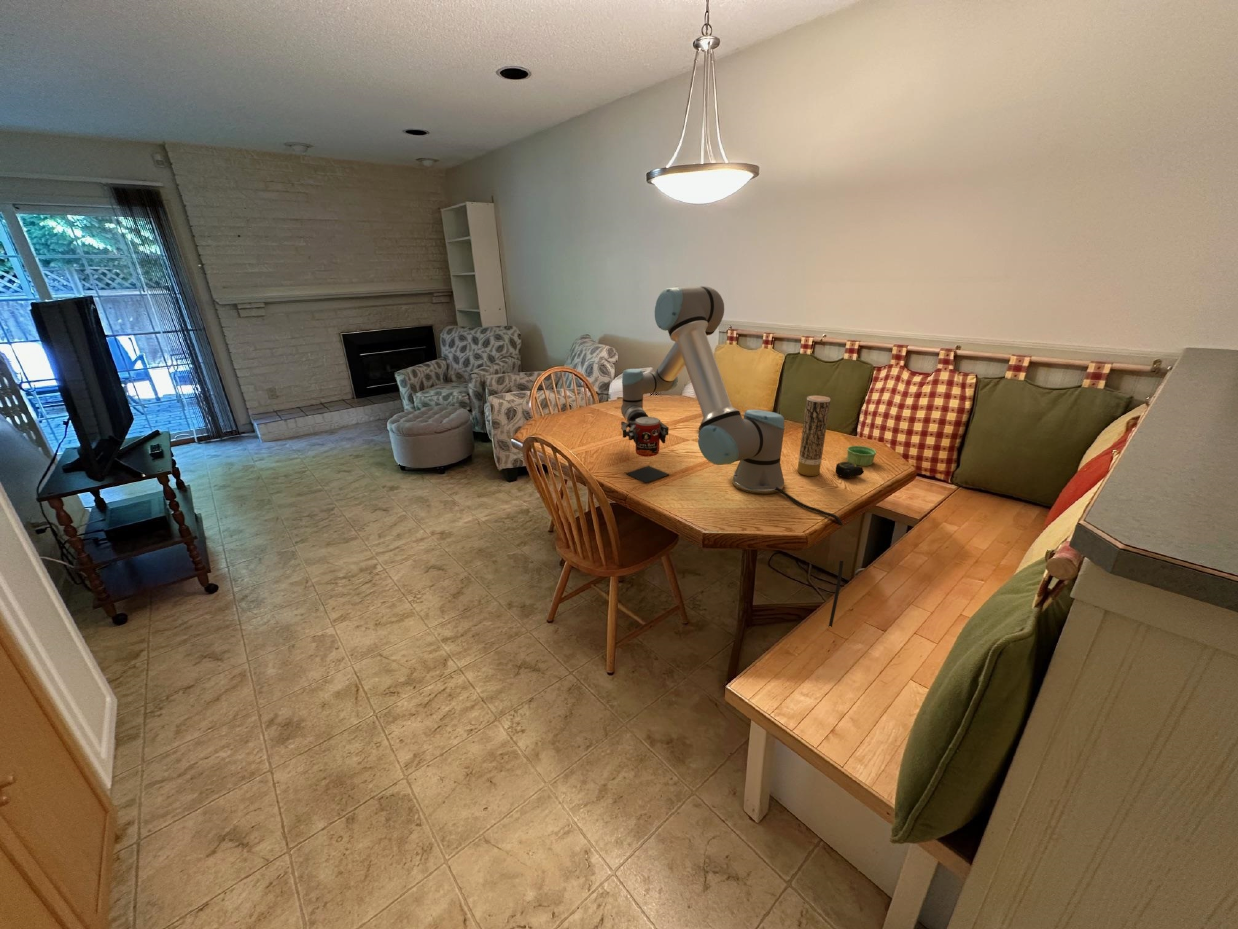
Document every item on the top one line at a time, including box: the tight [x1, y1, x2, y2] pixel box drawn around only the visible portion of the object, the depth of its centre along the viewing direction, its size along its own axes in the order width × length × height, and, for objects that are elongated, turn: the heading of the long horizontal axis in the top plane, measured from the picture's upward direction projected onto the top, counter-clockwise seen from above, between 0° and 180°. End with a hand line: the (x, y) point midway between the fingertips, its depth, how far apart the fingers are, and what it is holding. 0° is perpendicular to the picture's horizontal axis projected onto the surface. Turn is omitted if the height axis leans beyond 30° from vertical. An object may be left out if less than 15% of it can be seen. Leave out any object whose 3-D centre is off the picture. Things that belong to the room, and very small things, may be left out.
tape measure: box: [835, 461, 865, 479], centre depth 153 cm, size 7×7×4 cm
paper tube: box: [797, 395, 831, 477], centre depth 152 cm, size 7×7×25 cm
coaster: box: [625, 465, 670, 484], centre depth 157 cm, size 10×10×1 cm
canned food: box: [635, 416, 661, 458], centre depth 152 cm, size 8×8×11 cm
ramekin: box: [846, 445, 877, 467], centre depth 164 cm, size 9×9×4 cm
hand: (650, 439), depth 148 cm, fingers closed on canned food, 8 cm apart
